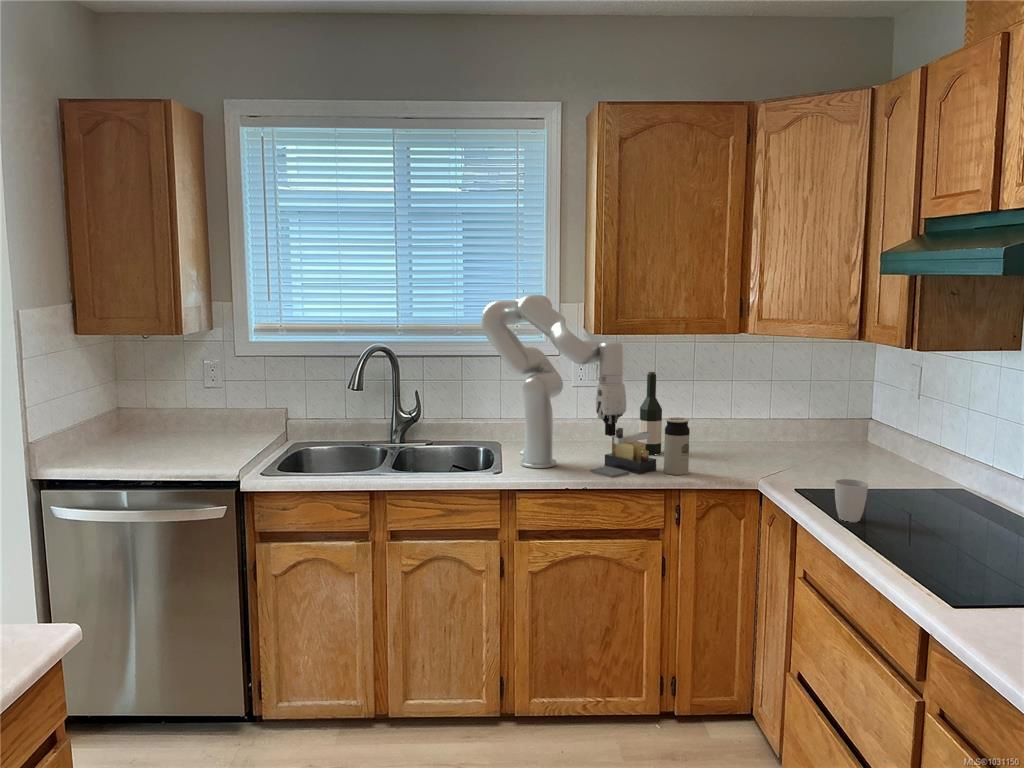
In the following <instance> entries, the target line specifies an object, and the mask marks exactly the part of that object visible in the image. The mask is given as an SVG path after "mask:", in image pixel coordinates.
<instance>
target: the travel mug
mask: <svg viewBox="0 0 1024 768" xmlns="http://www.w3.org/2000/svg"><path fill="white" fill-rule="evenodd" d="M665 420H666V426H665V427H664V446H663V448H664V451H663V473H665V474H667V475H670V476H685V475H688V474H689V467H690V466H689V465H690V464H689V463H690V462H689V461H690V456H689V455H690V433H691V432H690V428H689V422H690V419H689V418H687V417H676V416H675V417H674V416H673V417H667V418H665Z"/></svg>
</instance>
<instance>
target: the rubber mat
mask: <svg viewBox="0 0 1024 768" xmlns="http://www.w3.org/2000/svg"><path fill="white" fill-rule="evenodd" d="M589 472H590V473H593V474H597V475H600V476H605V477H609V478H616V477H621V476H625V475H629V474H630V472H629V471H625V470H621V469H617V468H613V467H609V466H605V465H604V466H600V467H595V468H591V469H589Z"/></svg>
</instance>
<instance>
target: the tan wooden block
mask: <svg viewBox="0 0 1024 768" xmlns="http://www.w3.org/2000/svg"><path fill="white" fill-rule="evenodd" d="M643 450H645V443H643V442H639V440H638V441H633V442H628V443H622V444H616V447H615V456H617V457H622V458H626V459H631V460H636V459H641V451H643Z"/></svg>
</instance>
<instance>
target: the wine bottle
mask: <svg viewBox="0 0 1024 768" xmlns="http://www.w3.org/2000/svg"><path fill="white" fill-rule="evenodd" d="M662 418H663V409H662V407H661V405H660V403H659V401H658V399H657V374H656V372H655V371H648V372H647V375H646V398H645V399H644V400H643V402H642V404H641V405H640V407H639V433H641V432H651V438H649V439H644V440H638V442H643V443H645V450H646V451H649V456H656V455H655V454H659V455H661V454H662V426H663V425H662V423H663V419H662ZM660 453H661V454H660Z"/></svg>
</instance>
